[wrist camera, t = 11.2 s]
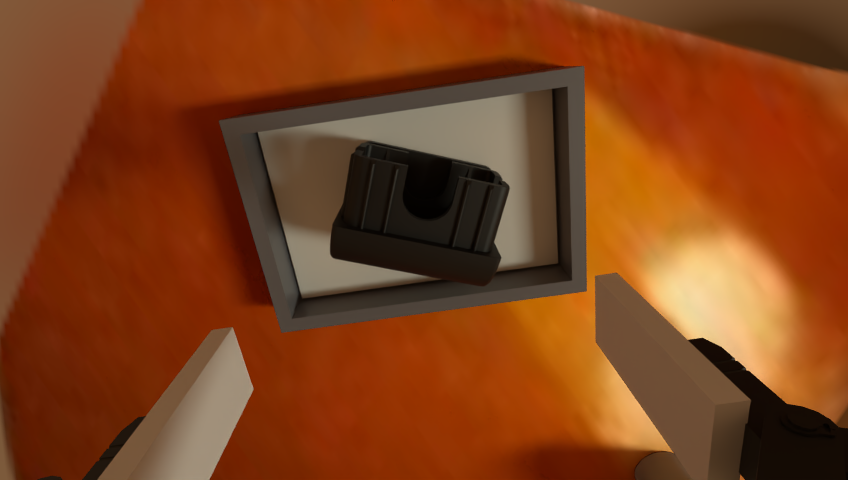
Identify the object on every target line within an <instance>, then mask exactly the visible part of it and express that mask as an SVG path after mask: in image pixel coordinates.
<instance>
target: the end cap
mask: <svg viewBox="0 0 848 480" xmlns="http://www.w3.org/2000/svg"><path fill="white" fill-rule="evenodd" d="M502 180H503V179H502V178H501V176H500V174H499V173H498V172H496V171H493V170H491V169H490V168H489V167H487V166H485V165H481V164H476V163H471V162H467V161H462V160H458V159H453V158H448V157H444V156H439V155H435V154H430V153H425V152H421V151H416V150H412V149H407V148H402V147H398V146H393V145H389V144H384V143H379V142H375V141H368V142H366V143H361V144H360V145H359V146H358V147H356V149H355V152H354V153H352V154H351V157H350V163H349V169H348V175H347V182H346V188H345V194H344V200H343V204H342V206H341V208H340V210H339V212H338V214H337V216H336V218H335V220H334V222H333V224H332V230H331V239H330V255H331V257H332V258H334V259H338V260H343V261H348V262H353V263H359V264H364V265H369V266H375V267H380V268H385V269H390V270H396V271H401V272H406V273H412V274H417V275H422V276H427V277H433V278H438V279H443V280H449V281H454V282H459V283H464V284H470V285H475V286H486V285H487V284H489V283H490V281H491V280H492V279H493V277H494V275H495V273H496V271H497V269H498V266H499V264H500V261H501V255H500V253H499V251H498V249H497V247H496V245H495V243H494V241H495V238H496V234H497V231H498V227H499V224H500V221H501V217H502V214H503V211H504V207H505V204H506V200H507V197H508V194H509V190H510V188H509V185H508V184H507V183H506V182H505V181H502Z"/></svg>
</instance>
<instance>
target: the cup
mask: <svg viewBox="0 0 848 480" xmlns="http://www.w3.org/2000/svg"><path fill="white" fill-rule="evenodd" d="M635 478H636V480H693V479H692V478H691V476H690V475H689V473H688V472H687V471H686V469H685V468H684V466H683V465H682V464H681V462H680V461H679V459H678V458H677V456H676V455H675V454H673V453H670V452H657V453H653V454H651V455H648V456H647V457H645V458H644V459H642V460H641V461H640V462H639V463H638V465H637V467H636V469H635Z"/></svg>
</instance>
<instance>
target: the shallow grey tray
mask: <svg viewBox="0 0 848 480" xmlns="http://www.w3.org/2000/svg"><path fill="white" fill-rule="evenodd" d="M219 123H220V127H221V130H222V134H223V137H224V140H225V144H226V147H227V150H228V154H229V157H230V161H231V164H232V167H233V171H234V174H235V177H236V181H237V184H238V188H239V191H240V194H241V198H242V201H243V204H244V208H245V211H246V214H247V218H248V221H249V225H250V228H251V231H252V235H253V238H254V241H255V245H256V248H257V252H258V255H259V258H260V262H261V265H262V268H263V272H264V275H265V279H266V282H267V285H268V289H269V292H270V295H271V299H272V302H273V306H274V309H275V312H276V316H277V319H278V322H279V326H280V329H281V333H283V332H290V331H297V330H305V329H312V328H319V327H327V326H334V325H341V324H349V323H356V322H364V321H371V320H378V319H386V318H393V317H400V316H408V315H415V314H422V313H430V312H437V311H445V310H452V309H459V308H467V307H474V306H481V305H489V304H496V303H503V302H511V301H518V300H526V299H533V298H540V297H548V296H555V295H562V294H570V293H577V292H584V291H587V278H586V186H585V94H584V66H564V67H558V68H551V69H544V70H537V71H531V72H524V73H517V74H511V75H504V76H497V77H490V78H484V79H477V80H470V81H464V82H457V83H450V84H444V85H437V86H430V87H423V88H417V89H410V90H403V91H397V92H390V93H383V94H376V95H370V96H363V97H356V98H350V99H343V100H336V101H330V102H323V103H316V104H309V105H303V106H296V107H289V108H283V109H276V110H269V111H262V112H256V113H249V114H242V115H238V116H234V117H230V118H226V119H223V120H219ZM368 141H375V142H379V143H384V144H389V145H393V146H398V147H402V148H407V149H412V150H416V151H421V152H425V153H430V154H435V155H439V156H444V157H448V158H453V159H458V160H462V161H467V162H471V163H476V164H481V165H485V166H487V167H489V168H490V169H491V170H493V171H496V172H498V173H499V174H500V176H501V178H502V179H503V180H502V181H505V182H506V183H507V184H508V185H509V188H510V190H509V194H508V197H507V200H506V204H505V207H504V211H503V214H502V217H501V221H500V224H499V227H498V231H497V234H496V238H495V241H494V243H495V245H496V247H497V249H498V251H499V253H500V255H501V261H500V264H499V266H498V269H497V271H496V273H495V275H494V277H493V279H492V280H491V281H490V283H489V284H487V285H486V286H475V285H470V284H464V283H459V282H454V281H449V280H443V279H438V278H433V277H427V276H422V275H417V274H412V273H406V272H401V271H396V270H390V269H385V268H380V267H375V266H369V265H364V264H359V263H353V262H348V261H343V260H338V259H334V258H332V257H331V255H330V239H331V230H332V224H333V222H334V220H335V218H336V216H337V214H338V212H339V210H340V208H341V206H342V204H343V200H344V194H345V188H346V182H347V175H348V169H349V163H350V157H351V154H352V153H354V152H355V149H356V147H358V146H359V145H360V144H361V143H366V142H368Z"/></svg>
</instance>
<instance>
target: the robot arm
mask: <svg viewBox="0 0 848 480" xmlns="http://www.w3.org/2000/svg"><path fill="white" fill-rule="evenodd" d="M595 306H596V343H597V344H598V346H599V347H600V348H601V350H602V351H603V353H604V354H605V355H606V357H607V358H608V360H609V361H610V363H611V364H612V365H613V367H614V368H615V370H616V371H617V373H618V374H619V375H620V377H621V378H622V380H623V381H624V383H625V384H626V385H627V387H628V388H629V390H630V391H631V392H632V394H633V395H634V397H635V398H636V400H637V401H638V402H639V404H640V405H641V407H642V408H643V410H644V411H645V412H646V414H647V415H648V417H649V418H650V419H651V421H652V422H653V424H654V425H655V427H656V428H657V429H658V431H659V432H660V434H661V435H662V437H663V438H664V439H665V441H666V442H667V444H668V445H669V446H670V448H671V449H672V451H673V452H674V454H675V455H676V456H677V458H678V459H679V461H680V462H681V464H682V465H683V466H684V468H685V469H686V471H687V472H688V473H689V475H690V476H691V478H692V479H693V480H739V479H740V474H741V475H742V476H743V478H744V479H745V480H848V428H840V427H838V426H837V425H836V424H835V423H834V422H833V421H831V420H830V419H829V418H827V417H825V416H824V415H822V414H820V413H819V412H816V411H814V410H811V409H808V408H805V407H802V406H796V405H791V404H786V403H785V402H784V401H783V400H782V399H781V398H779V397H778V396H777V395H776V394H775V393H774V392H773V391H771V390H770V389H769V388H768V387H767V386H766V385H765V384H763V383H762V382H761V381H760V380H759V379H758V378H756V377H755V376H754V375H753V374H752V373H751V372H750V371H747V370H746V368H745V367H744V366H743V365H742V364H740V363H739V362H738V361H735V358H733V357H732V356H731V355H730V354H729V353H728V352H727V351H725V350H724V349H723V348H722V347H720V346H718V345H716V344H714V343H712V342H710V341H708V340H706V339H704V338H698V339H691V340H687V339H686V338H685V337H684V336H683V335H682V334H681V333H680V332H679V331H677V330H676V329H675V328H674V327H673V326H672V325H671V324H670V323H669V322H668V321H667V320H666V319H665V318H664V317H663V316H662V315H661V314H660V313H659V312H657V311H656V310H655V309H654V308H653V307H652V306H651V305H650V304H649V303H648V302H647V301H646V300H645V299H644V298H643V297H642V296H641V295H640V294H639V293H637V292H636V291H635V290H634V289H633V288H632V287H631V286H630V285H629V284H628V283H627V282H626V281H625V280H624V279H623V278H622V277H621V276H620V275H619V274H617V273H612V274H605V275H598V276H595ZM252 391H253V386H252V383H251V380H250V377H249V374H248V371H247V368H246V365H245V362H244V359H243V356H242V353H241V350H240V348H239V345H238V342H237V339H236V336H235V333H234V330H233V327H231V328H224V329H217V330H212V331H211V332H210V333H209V335H208V336H207V337H206V338H205V340H204V341H203V342H202V344H201V345H200V346H199V348H198V349H197V350H196V352H195V353H194V354H193V355H192V357H191V358H190V359H189V361H188V362H187V363H186V365H185V366H184V367H183V369H182V370H181V371H180V372H179V374H178V375H177V376H176V378H175V379H174V380H173V382H172V383H171V384H170V386H169V387H168V388H167V389H166V391H165V392H164V393H163V395H162V396H161V397H160V399H159V400H158V401H157V402H156V404H155V405H154V406H153V408H152V409H151V410H150V412H149V413H148V414H147V416H144V417H138V418H137V419H136V420H134V421H133V422H132V423H131V424H130V425H128V426H127V427H126V428H125V429H123V430H122V431H121V432H120V433H119V435H118V436H117V437H116V438H115V440H114V441H113V442H112V443H111V445H110V446H109V449H107V450H106V451H105V452H104V453H103V455H102V456H101V457H100V458H99V459H100V460H99V461H97V462H96V463H95V464H94V466H93V467H92V468H91V469H90V471H89V472H88V473H87V474H86V476H85V477H84V478H83V479H82V480H209V479H210V477H211V475H212V473H213V471H214V469H215V467H216V465H217V463H218V461H219V459H220V457H221V455H222V453H223V450H224V448H225V446H226V444H227V442H228V440H229V438H230V436H231V434H232V432H233V430H234V428H235V426H236V424H237V422H238V420H239V418H240V416H241V414H242V412H243V410H244V408H245V406H246V403H247V401H248V399H249V397H250V395H251V393H252ZM38 480H62V478H61V477H57V476H49V477H45V478H40V479H38Z"/></svg>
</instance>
